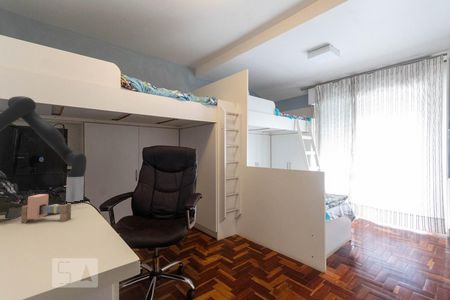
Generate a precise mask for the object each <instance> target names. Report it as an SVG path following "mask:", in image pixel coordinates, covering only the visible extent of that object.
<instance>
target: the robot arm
mask: <svg viewBox="0 0 450 300" xmlns="http://www.w3.org/2000/svg"><path fill="white" fill-rule="evenodd" d="M36 107H37V104H36V102H35V100H34V99H33V98H31V97H28V96H21V95H20V96H12V97H10V98H8V100H7V108H6V109H4V110H3V111H2V112H0V132H2V131H3V130H4V129H6V128H7V127H8V126H10V125H11V124H13V123H15V122H16V121H17V120H19V119H22V120H23V121H25V123H26V124H27V125H28V126H29V127H30V128H31V129H32V130H33V131H34V132H35V133H36V134H37V135H38V136H39V137H40V138H41V139H42V141H44V142H45V143H46V144H47V145H48V146H49V147H51V149H52V150H54V151H55V152H56V153H57V154H58V156H60V158H61V159H62V160H63V162H64V163H65V164H66V165H68V166H69V167H71V169H70V171H68V172H67V174H66V187H65V188H66V191H65V192H66V193H65V195H66V196H65V202H66V201H67V202H74V201H80V200H83V201H84V188H85V187H84V183H85V173H86V169H87V156H86V155H85V154H84V153H83V152H74V151H73V150H72V149H71V148H70V147H69V145H67V143H66V140H65V137H64V135H63V134H62V133H61V131H59V130H58V128H57V127H56V126H54V124H52V123H50V122H49V121H48V120H46V119H44V118H43V117H42V116H40V115H39V114H38V113H37V111H36ZM18 191H19V187H18V184H17V183H16V182H15V183H11V182H10V181H9V180H7V175H6V174H5V173H4V172H2V170H0V197H1V198H4V197H6V198H9V199H10V200H11V201H12V202H13V203H17V202H19V201H20V200H21V197H20V196H19V195H18V194H17V192H18Z"/></svg>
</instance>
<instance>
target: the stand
mask: <svg viewBox="0 0 450 300" xmlns="http://www.w3.org/2000/svg"><path fill="white" fill-rule="evenodd" d="M60 205H61V206H60V214H59V222H60V223H65V222H67V221H69V220H71V218H72V217H71V216H72V204H71V203H67V204H66V203H65V204H60ZM27 206H28V204H26V205H23V206H21V216H20V217H21V218H20V222H21V224H27V223H30V222H32V221H34V220H35V219H27Z"/></svg>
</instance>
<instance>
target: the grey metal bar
mask: <svg viewBox="0 0 450 300" xmlns="http://www.w3.org/2000/svg"><path fill="white" fill-rule="evenodd" d="M61 205H62V204H58V205H54V204H48V205H40V207H39V213H60V206H61Z"/></svg>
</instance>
